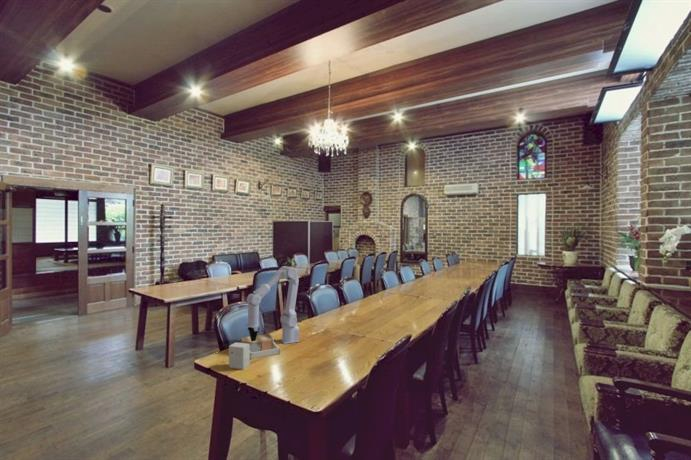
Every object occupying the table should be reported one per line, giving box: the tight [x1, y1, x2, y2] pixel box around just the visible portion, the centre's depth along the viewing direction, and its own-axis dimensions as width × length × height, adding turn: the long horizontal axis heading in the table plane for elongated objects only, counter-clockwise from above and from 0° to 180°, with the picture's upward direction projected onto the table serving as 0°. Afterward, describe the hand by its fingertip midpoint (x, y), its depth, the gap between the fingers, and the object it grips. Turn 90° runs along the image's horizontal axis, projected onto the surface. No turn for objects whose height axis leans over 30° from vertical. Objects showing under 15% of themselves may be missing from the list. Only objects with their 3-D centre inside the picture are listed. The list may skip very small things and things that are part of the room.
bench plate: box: [240, 333, 275, 348], centre depth 188 cm, size 16×12×4 cm
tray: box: [250, 341, 281, 360], centre depth 177 cm, size 16×12×3 cm
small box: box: [228, 342, 251, 370], centre depth 160 cm, size 8×6×10 cm
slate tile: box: [249, 344, 260, 353], centre depth 179 cm, size 5×5×2 cm
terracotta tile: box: [261, 339, 271, 351], centre depth 181 cm, size 5×5×2 cm
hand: (253, 340), depth 182 cm, fingers closed
